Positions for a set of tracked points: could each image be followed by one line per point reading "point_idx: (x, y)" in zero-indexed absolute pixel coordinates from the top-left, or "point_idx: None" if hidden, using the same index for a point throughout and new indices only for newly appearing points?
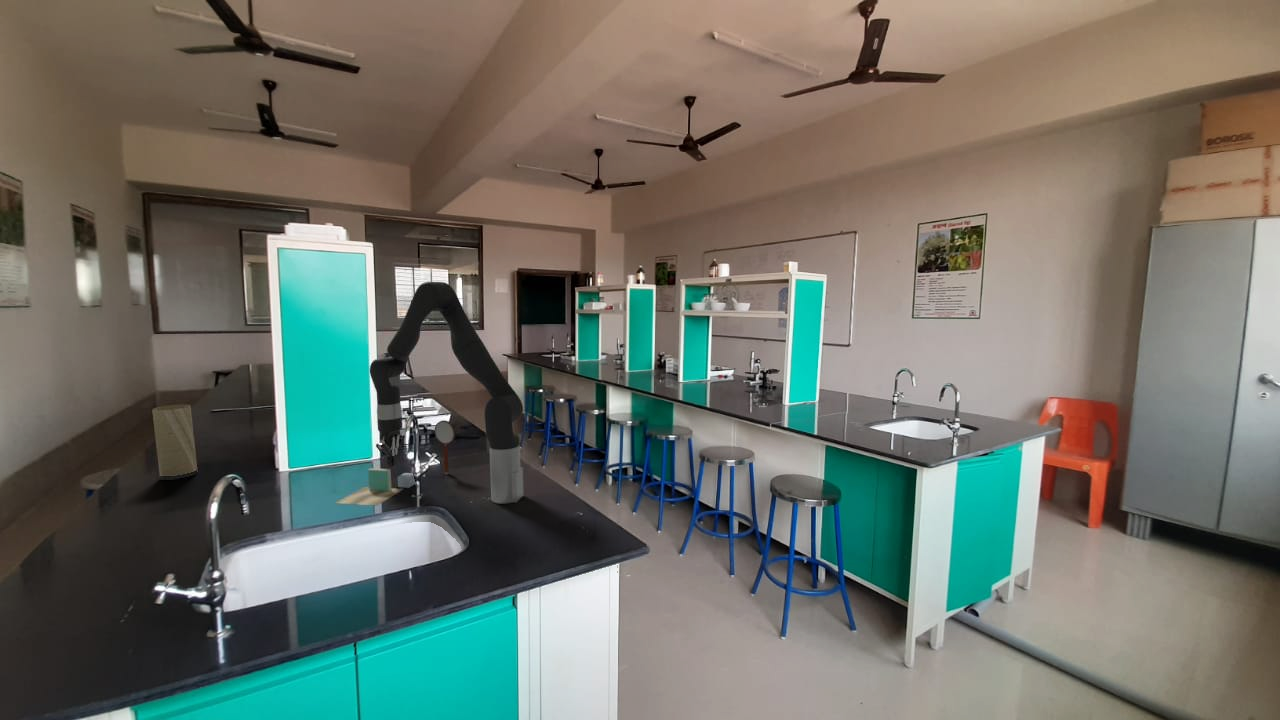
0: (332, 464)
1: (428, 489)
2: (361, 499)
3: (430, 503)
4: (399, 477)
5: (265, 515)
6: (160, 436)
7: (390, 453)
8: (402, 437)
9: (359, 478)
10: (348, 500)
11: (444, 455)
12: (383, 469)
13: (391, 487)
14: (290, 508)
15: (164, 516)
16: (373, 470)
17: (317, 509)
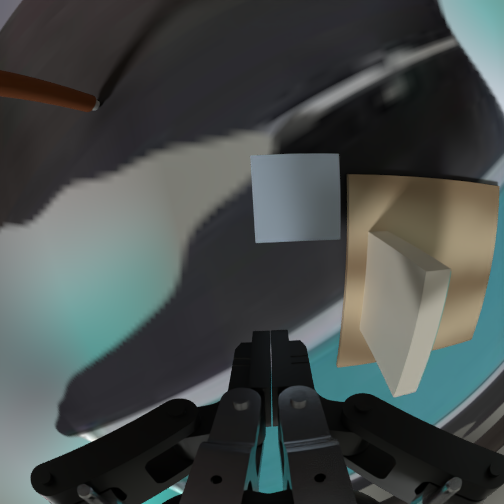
0: (174, 487)
1: (306, 57)
2: (460, 283)
3: (426, 8)
4: (338, 224)
5: (481, 405)
6: None
7: (364, 409)
8: (68, 490)
9: None
10: (462, 319)
11: (30, 87)
12: (427, 316)
13: (372, 235)
14: (463, 402)
15: None
16: (424, 363)
17: (487, 348)
